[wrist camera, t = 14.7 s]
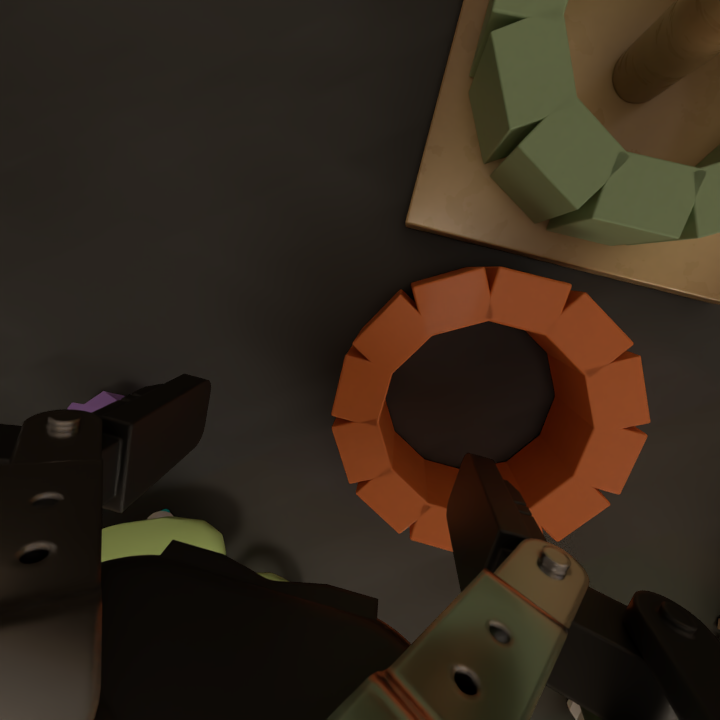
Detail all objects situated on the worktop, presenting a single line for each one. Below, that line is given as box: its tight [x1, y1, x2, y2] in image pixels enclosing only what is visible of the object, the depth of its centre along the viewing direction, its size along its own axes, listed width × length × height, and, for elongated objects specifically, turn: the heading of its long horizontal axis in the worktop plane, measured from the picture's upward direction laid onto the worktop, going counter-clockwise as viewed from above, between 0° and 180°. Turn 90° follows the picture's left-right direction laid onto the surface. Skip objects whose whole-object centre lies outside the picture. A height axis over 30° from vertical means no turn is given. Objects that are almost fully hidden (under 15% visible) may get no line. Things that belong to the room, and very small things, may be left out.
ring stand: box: [405, 0, 720, 304], centre depth 11 cm, size 14×14×10 cm
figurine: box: [67, 391, 289, 582], centre depth 21 cm, size 18×27×6 cm
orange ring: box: [331, 266, 650, 552], centre depth 17 cm, size 12×12×4 cm
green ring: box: [469, 0, 720, 246], centre depth 12 cm, size 12×12×4 cm
